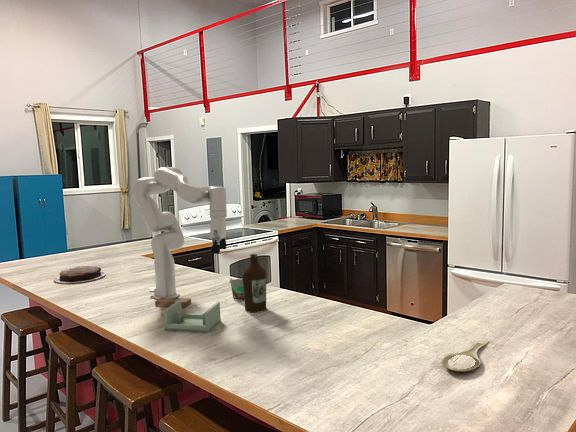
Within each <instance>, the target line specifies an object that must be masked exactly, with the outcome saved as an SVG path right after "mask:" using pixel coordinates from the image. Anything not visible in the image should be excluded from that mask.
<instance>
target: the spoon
mask: <svg viewBox="0 0 576 432" xmlns="http://www.w3.org/2000/svg"><path fill="white" fill-rule="evenodd" d="M485 339H486V340H488V339H487V338H485ZM487 343H488V344H489V343H490V340H489V341H486V342H484V343H478V342H476V344H475V345H473V346H472V348H470V349H468V350H466V351H461V352H457V353H451V354H448V355H446V356H444V357H443V358H442V359H441V364H442V367H444V368H446V369H447V370H449V371H450V370H451V371H455V372H470V371H474V370H476V369H477V368H479V367H480V365H481V360H480V358H479V356H478V351H479V350H480V349H481V348H483V347H485V346H486V344H487ZM488 344H487V345H488ZM456 355H466V356H470V357H472V358H473V359H474V360H475V361H476V362H475V365H474V366H472V367H470V368H467V369H457V368H453V367H451V366H450V365H449V364H448V360H449V359H451V358H452V357H454V356H456Z"/></svg>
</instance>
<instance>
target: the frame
mask: <svg viewBox="0 0 576 432" xmlns="http://www.w3.org/2000/svg"><path fill="white" fill-rule="evenodd" d="M220 322H221V302H220V301H216V302H215V303H214V304H213V305H212V306H211V307H210V308H208V309H207V310H206V311H204V313H187V312H186V313H183V310H182V308H181V301H177V302H176V303H174V304H173V305H171V306H170V307H169V308H167V309H166V310H164V315H163V324H164V331H165V332H185V333H207V334H208V333H210V332H211V331H212V330H213V329H214V328H215V327H216V326H217V325H218V324H219V323H220Z"/></svg>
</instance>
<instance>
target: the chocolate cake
mask: <svg viewBox="0 0 576 432" xmlns="http://www.w3.org/2000/svg"><path fill="white" fill-rule="evenodd" d="M106 274H107V273H106V272H105V271H102V268H101V267H100V266H97V265H96V266H90V265H82V266H77V267H74V268H71V267H70V268H69V269H66V270H61V272H59V276H57V277H54V279H53V281H54V283H55V284H60V285H61V284H63V285H64V284H65V285H72V284H84V283H88V282H95V281H97V280H101V279H103V278H104V277H105V276H106Z"/></svg>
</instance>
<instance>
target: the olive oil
mask: <svg viewBox="0 0 576 432" xmlns="http://www.w3.org/2000/svg"><path fill="white" fill-rule="evenodd" d="M258 261H259V258H258V254H257V253H250V254H249V264H248V265H247V266H245V269H244V270H243V271H242V277H241V278H243V288H244V300H243V301H244V310H245V312H247V313H261V312H264V311H266V310H267V272H266V270H265V268H264V267H263V266H262V265H261V264H260V263H259V262H258Z"/></svg>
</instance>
